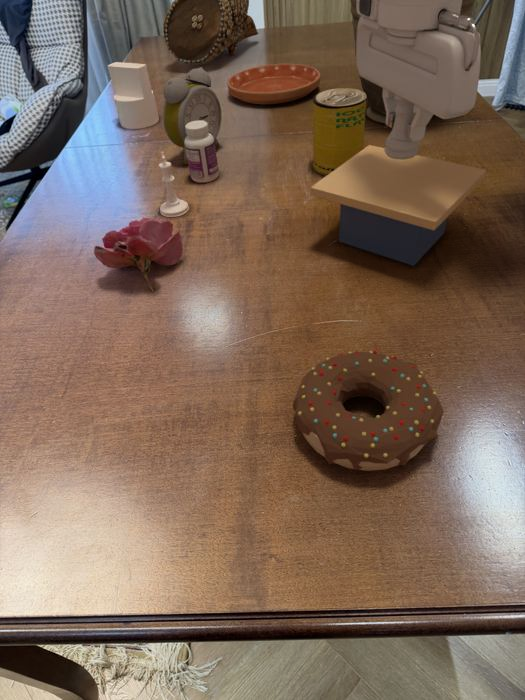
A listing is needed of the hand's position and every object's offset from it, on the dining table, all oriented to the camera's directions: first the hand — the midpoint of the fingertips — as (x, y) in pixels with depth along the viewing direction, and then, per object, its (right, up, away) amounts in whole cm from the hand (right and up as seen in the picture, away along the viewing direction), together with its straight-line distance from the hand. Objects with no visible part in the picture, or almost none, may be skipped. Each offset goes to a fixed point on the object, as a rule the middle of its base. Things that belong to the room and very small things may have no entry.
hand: (403, 132), depth 64 cm
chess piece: (-33, -4, +22) cm, 40 cm away
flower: (-35, -16, +9) cm, 40 cm away
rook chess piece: (0, -2, +2) cm, 3 cm away
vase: (+12, +24, +46) cm, 53 cm away
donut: (-8, -35, -13) cm, 38 cm away
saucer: (-15, +37, +62) cm, 73 cm away
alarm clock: (-32, +12, +38) cm, 51 cm away
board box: (+1, -11, +11) cm, 15 cm away
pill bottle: (-29, +4, +30) cm, 42 cm away
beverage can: (-4, +6, +29) cm, 30 cm away
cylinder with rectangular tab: (-47, +26, +54) cm, 76 cm away
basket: (-32, +63, +91) cm, 116 cm away
